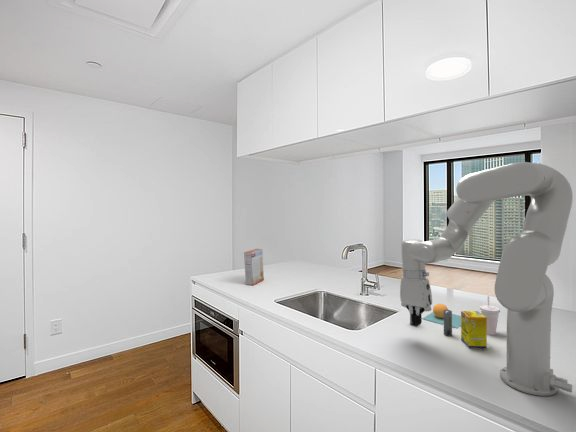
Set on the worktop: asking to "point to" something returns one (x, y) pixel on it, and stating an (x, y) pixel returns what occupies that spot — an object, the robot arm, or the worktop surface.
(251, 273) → the cracker box
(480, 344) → the supplement box
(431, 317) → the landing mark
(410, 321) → the post left
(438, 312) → the ball
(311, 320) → the worktop surface
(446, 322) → the post right
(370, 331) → the worktop surface
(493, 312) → the smoothie
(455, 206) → the robot arm
